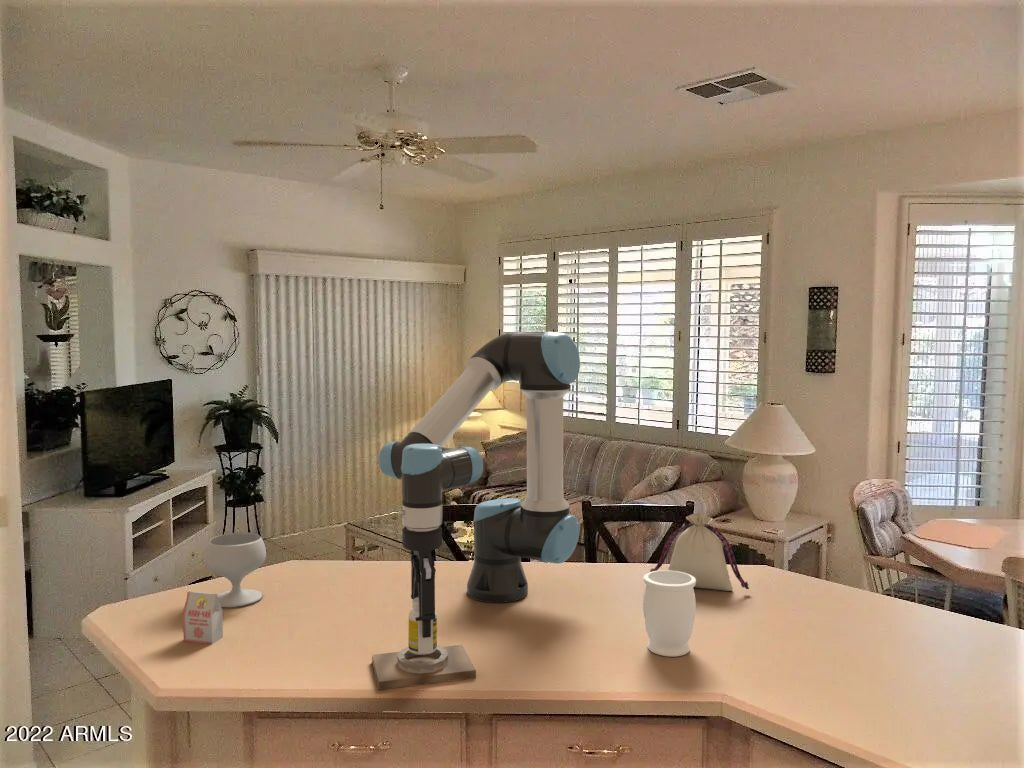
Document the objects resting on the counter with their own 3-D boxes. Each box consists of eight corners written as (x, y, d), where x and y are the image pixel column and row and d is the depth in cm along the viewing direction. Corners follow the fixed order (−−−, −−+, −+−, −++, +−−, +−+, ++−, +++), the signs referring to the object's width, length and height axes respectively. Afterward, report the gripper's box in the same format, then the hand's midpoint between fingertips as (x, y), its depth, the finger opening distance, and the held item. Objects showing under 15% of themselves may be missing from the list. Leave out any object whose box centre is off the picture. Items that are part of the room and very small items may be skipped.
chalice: (279, 596, 185) (278, 536, 184) (230, 614, 173) (229, 550, 172) (241, 586, 193) (240, 528, 192) (192, 602, 181) (191, 540, 180)
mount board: (462, 651, 153) (462, 637, 153) (475, 677, 142) (475, 662, 142) (372, 662, 148) (372, 647, 148) (378, 689, 137) (378, 673, 137)
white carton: (194, 634, 162) (193, 588, 161) (222, 637, 160) (221, 591, 160) (183, 641, 158) (182, 594, 158) (212, 644, 157) (211, 596, 156)
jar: (664, 664, 148) (665, 588, 147) (632, 644, 157) (633, 573, 156) (705, 653, 153) (707, 580, 152) (672, 635, 162) (673, 566, 161)
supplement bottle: (432, 657, 142) (431, 605, 141) (404, 654, 143) (404, 603, 142) (440, 645, 147) (440, 595, 146) (413, 642, 148) (413, 594, 148)
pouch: (749, 587, 193) (750, 514, 192) (748, 598, 185) (750, 521, 184) (650, 577, 200) (651, 506, 199) (645, 587, 193) (647, 514, 191)
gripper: (396, 516, 151) (397, 629, 153) (409, 540, 133) (410, 668, 135) (433, 513, 153) (433, 625, 155) (451, 537, 136) (451, 663, 137)
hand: (423, 645), depth 145 cm, fingers closed on supplement bottle, 5 cm apart
